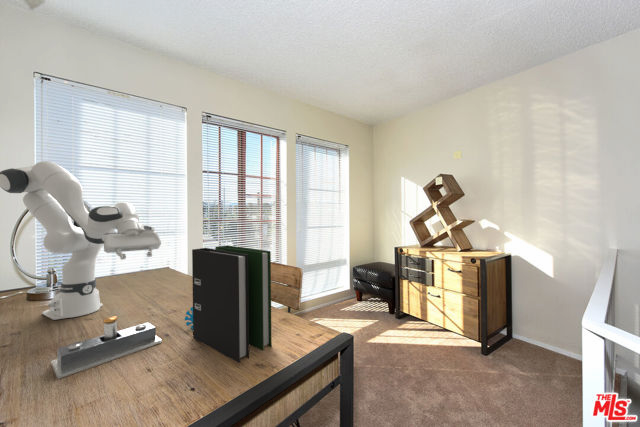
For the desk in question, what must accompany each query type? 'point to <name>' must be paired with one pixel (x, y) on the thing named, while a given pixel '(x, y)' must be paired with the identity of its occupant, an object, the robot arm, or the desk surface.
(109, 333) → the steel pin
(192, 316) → the gear
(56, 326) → the desk surface
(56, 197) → the robot arm
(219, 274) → the binders
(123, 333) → the grey slotted bar
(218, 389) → the desk surface
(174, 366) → the desk surface
